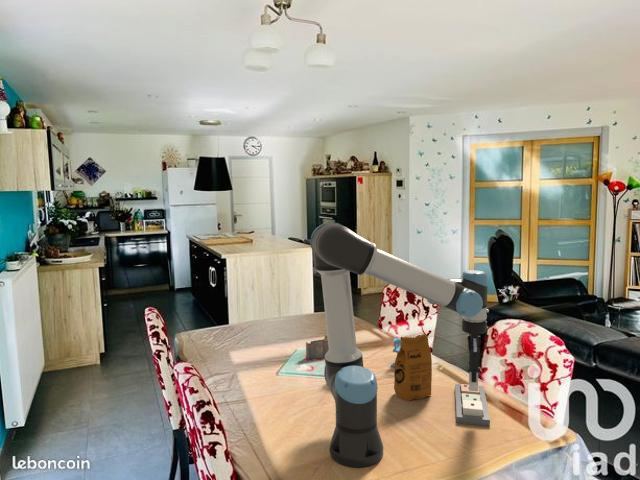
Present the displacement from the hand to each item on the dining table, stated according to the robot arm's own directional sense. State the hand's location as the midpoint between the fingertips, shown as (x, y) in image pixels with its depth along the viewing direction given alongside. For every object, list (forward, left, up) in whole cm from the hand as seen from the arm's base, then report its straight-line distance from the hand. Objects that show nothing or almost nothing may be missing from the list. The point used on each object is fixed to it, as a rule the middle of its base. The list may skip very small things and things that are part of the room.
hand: (473, 390), depth 156 cm
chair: (+41, +26, -9) cm, 49 cm away
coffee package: (+13, +20, -9) cm, 26 cm away
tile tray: (+8, 0, -9) cm, 12 cm away
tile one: (0, 0, -7) cm, 7 cm away
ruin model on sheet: (+43, +63, -10) cm, 77 cm away
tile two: (+8, 0, -9) cm, 12 cm away
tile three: (+16, 0, -9) cm, 18 cm away
